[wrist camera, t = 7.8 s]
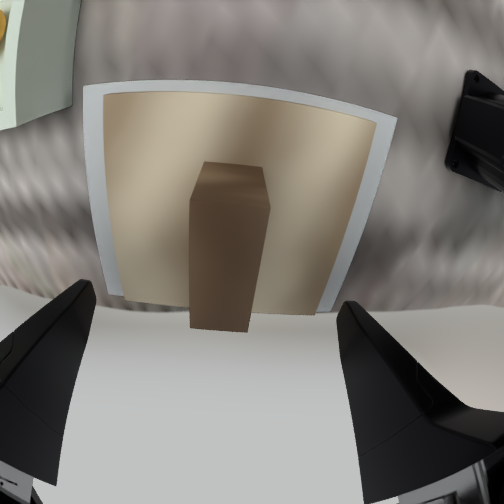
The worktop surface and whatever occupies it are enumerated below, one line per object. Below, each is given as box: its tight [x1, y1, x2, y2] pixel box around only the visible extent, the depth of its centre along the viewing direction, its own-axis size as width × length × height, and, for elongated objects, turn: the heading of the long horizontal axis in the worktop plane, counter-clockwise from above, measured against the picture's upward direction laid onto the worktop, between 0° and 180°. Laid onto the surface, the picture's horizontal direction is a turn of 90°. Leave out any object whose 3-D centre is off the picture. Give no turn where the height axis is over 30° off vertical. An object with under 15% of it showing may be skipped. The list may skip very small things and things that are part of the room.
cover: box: [103, 91, 377, 332], centre depth 12 cm, size 12×12×5 cm
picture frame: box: [83, 80, 397, 312], centre depth 14 cm, size 15×13×1 cm
